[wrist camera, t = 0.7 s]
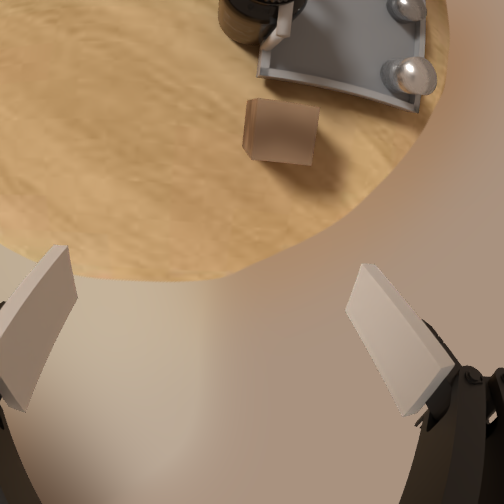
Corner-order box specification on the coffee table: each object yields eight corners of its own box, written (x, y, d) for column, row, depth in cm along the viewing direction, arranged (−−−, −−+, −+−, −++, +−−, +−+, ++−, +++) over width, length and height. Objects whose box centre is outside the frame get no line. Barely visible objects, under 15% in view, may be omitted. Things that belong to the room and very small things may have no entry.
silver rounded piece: (381, 55, 24) (408, 50, 19) (410, 66, 24) (438, 65, 20) (378, 87, 25) (404, 87, 21) (407, 97, 26) (434, 100, 22)
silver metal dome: (386, -7, 20) (400, -14, 17) (411, 4, 20) (426, 0, 18) (385, 17, 21) (400, 11, 19) (411, 28, 22) (426, 24, 19)
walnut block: (247, 100, 27) (258, 98, 20) (294, 106, 28) (319, 107, 21) (242, 146, 30) (251, 159, 23) (288, 151, 30) (311, 165, 23)
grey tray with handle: (268, -42, 19) (291, -89, 10) (409, 2, 22) (464, -13, 12) (253, 78, 26) (273, 64, 17) (401, 111, 29) (461, 121, 20)
